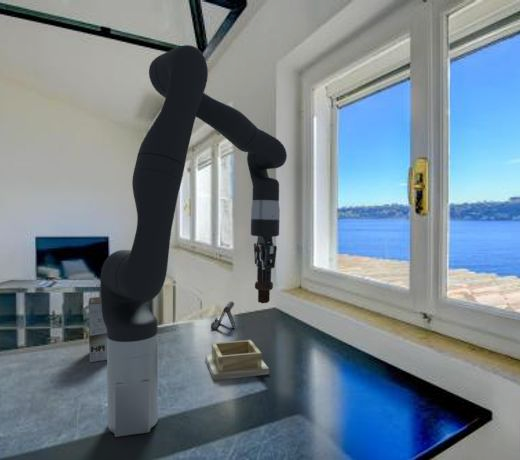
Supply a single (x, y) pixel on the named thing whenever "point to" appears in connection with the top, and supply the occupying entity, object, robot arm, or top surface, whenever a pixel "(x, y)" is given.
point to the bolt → (262, 288)
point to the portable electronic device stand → (226, 310)
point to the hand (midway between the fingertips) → (263, 282)
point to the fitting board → (235, 360)
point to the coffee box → (97, 331)
